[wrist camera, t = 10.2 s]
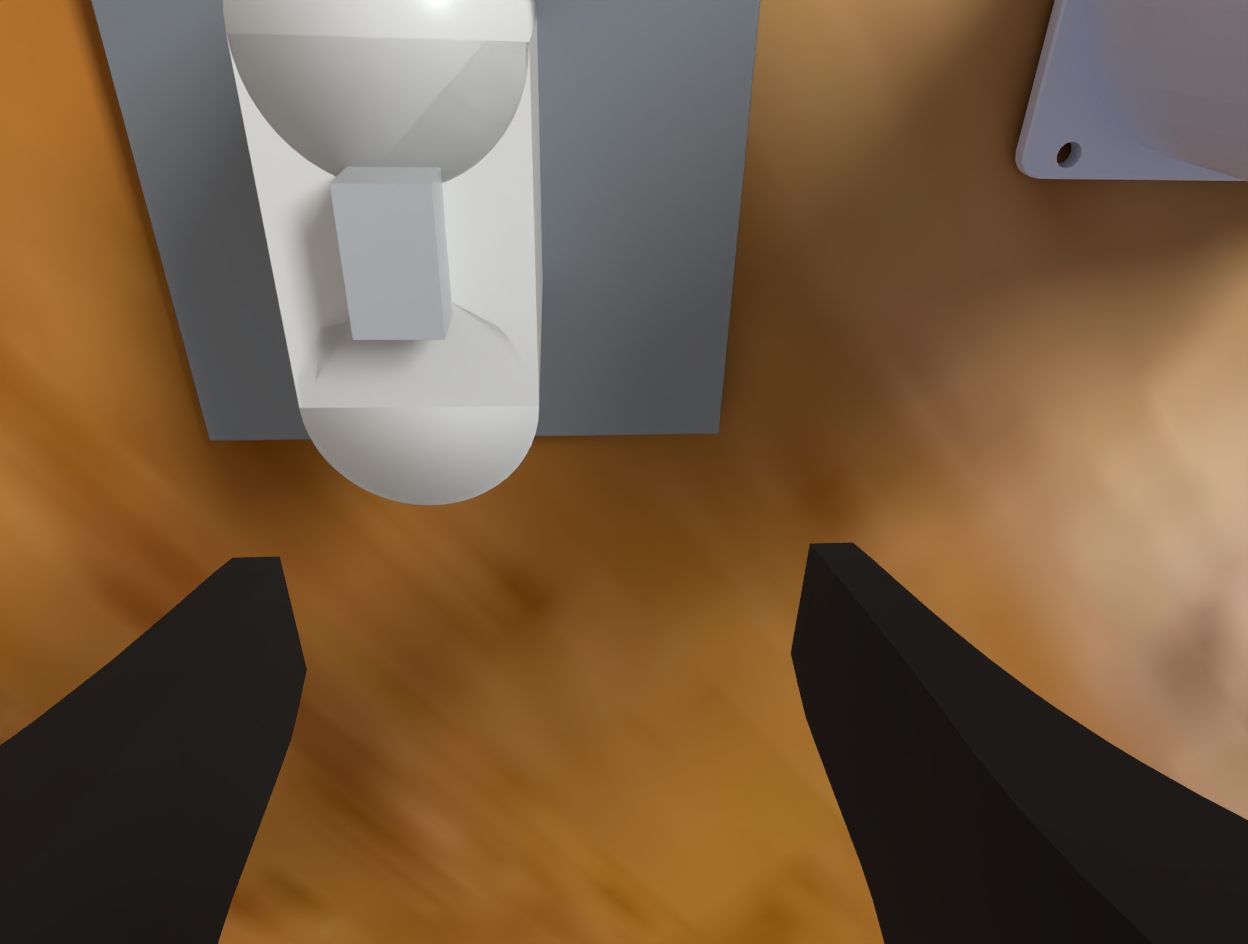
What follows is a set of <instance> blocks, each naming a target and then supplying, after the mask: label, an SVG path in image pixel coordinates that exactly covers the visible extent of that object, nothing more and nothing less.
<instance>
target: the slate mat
mask: <svg viewBox="0 0 1248 944" xmlns="http://www.w3.org/2000/svg"><path fill="white" fill-rule="evenodd" d="M91 1H92V5H93V8H94V12H95V16H96V20H97V23H98V27H99V31H100V34H101V38H102V42H103V46H104V49H105V53H106V57H107V60H108V64H109V68H110V72H111V75H112V79H113V83H114V86H115V90H116V94H117V98H118V101H119V105H120V109H121V112H122V116H123V120H124V124H125V127H126V131H127V135H128V138H129V142H130V146H131V150H132V153H133V157H134V161H135V164H136V168H137V172H138V176H139V179H140V183H141V187H142V190H143V194H144V198H145V202H146V205H147V209H148V213H149V216H150V220H151V224H152V228H153V231H154V235H155V239H156V242H157V246H158V250H159V254H160V257H161V261H162V265H163V269H164V272H165V276H166V280H167V283H168V287H169V291H170V295H171V298H172V302H173V306H174V309H175V313H176V317H177V321H178V324H179V328H180V332H181V335H182V339H183V343H184V347H185V350H186V354H187V358H188V361H189V365H190V369H191V373H192V376H193V380H194V384H195V387H196V391H197V395H198V399H199V402H200V406H201V410H202V413H203V417H204V421H205V425H206V428H207V432H208V436H209V439H210V441H223V440H295V439H311V438H310V436H309V435H308V432H307V430H306V428H305V425H304V423H303V420H302V416H301V413H300V409H299V404H298V399H297V394H296V389H295V384H294V378H293V373H292V368H291V363H290V358H289V353H288V348H287V343H286V337H285V332H284V327H283V322H282V317H281V312H280V307H279V302H278V296H277V291H276V286H275V281H274V276H273V271H272V266H271V261H270V255H269V250H268V245H267V240H266V235H265V230H264V225H263V220H262V214H261V209H260V204H259V199H258V194H257V189H256V184H255V179H254V173H253V168H252V163H251V158H250V153H249V148H248V143H247V138H246V132H245V127H244V122H243V117H242V112H241V107H240V102H239V96H238V91H237V86H236V81H235V76H234V71H233V66H232V61H231V55H230V50H229V45H228V40H227V35H226V28H225V21H224V14H223V0H91ZM535 2H536V13H537V47H538V93H539V138H540V183H541V228H542V273H543V287H542V321H541V355H540V389H539V417H538V424H537V429H536V434H535V436H584V435H656V434H719V424H720V413H721V403H722V393H723V382H724V372H725V361H726V351H727V341H728V330H729V320H730V310H731V299H732V289H733V278H734V268H735V258H736V247H737V237H738V226H739V216H740V206H741V195H742V185H743V174H744V164H745V154H746V143H747V133H748V122H749V112H750V102H751V91H752V81H753V70H754V60H755V50H756V39H757V29H758V18H759V8H760V0H535Z"/></svg>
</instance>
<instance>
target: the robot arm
mask: <svg viewBox="0 0 1248 944" xmlns="http://www.w3.org/2000/svg"><path fill="white" fill-rule="evenodd" d="M1069 142H1070V143H1071V145H1072V146H1071V153H1070V155H1069V157H1068V158H1067V159H1066V160H1065V161H1064V162H1063V163H1060V164H1058V163H1057V154H1058V152H1059V150H1060V148H1061V147H1063V146H1064V145H1065V144H1066V143H1069ZM1015 161H1016V164H1017V167H1018V169H1019V170H1020V171H1021V172H1022V173H1023V174H1025V175H1027V176H1030V177H1033V178H1037V179H1104V180H1200V181H1248V0H1055V1H1054V5H1053V9H1052V13H1051V17H1050V21H1049V25H1048V29H1047V33H1046V36H1045V40H1044V44H1043V48H1042V52H1041V56H1040V60H1039V64H1038V68H1037V71H1036V75H1035V79H1034V83H1033V87H1032V91H1031V95H1030V99H1029V103H1028V106H1027V110H1026V114H1025V118H1024V122H1023V126H1022V130H1021V134H1020V138H1019V141H1018V145H1017V149H1016V157H1015ZM791 656H792V660H793V665H794V669H795V674H796V678H797V683H798V687H799V691H800V695H801V699H802V703H803V707H804V712H805V716H806V719H807V722H808V725H809V727H810V730H811V733H812V736H813V738H814V741H815V744H816V747H817V749H818V752H819V755H820V757H821V760H822V763H823V765H824V768H825V771H826V773H827V776H828V779H829V781H830V784H831V787H832V789H833V792H834V795H835V797H836V800H837V802H838V805H839V808H840V810H841V813H842V816H843V818H844V821H845V824H846V826H847V829H848V831H849V834H850V837H851V839H852V842H853V845H854V847H855V850H856V853H857V855H858V858H859V860H860V863H861V866H862V869H863V872H864V875H865V878H866V881H867V884H868V887H869V890H870V893H871V896H872V899H873V903H874V906H875V910H876V914H877V917H878V921H879V925H880V928H881V932H882V936H883V939H884V943H885V944H1248V820H1246V819H1244V818H1243V817H1241V816H1239V815H1237V814H1235V813H1233V812H1231V811H1229V810H1227V809H1225V808H1223V807H1222V806H1220V805H1218V804H1216V803H1214V802H1212V801H1210V800H1208V799H1206V798H1204V797H1202V796H1201V795H1199V794H1197V793H1195V792H1193V791H1192V790H1190V789H1188V788H1186V787H1184V786H1183V785H1181V784H1179V783H1177V782H1176V781H1174V780H1172V779H1170V778H1169V777H1167V776H1165V775H1163V774H1162V773H1160V772H1158V771H1156V770H1155V769H1153V768H1151V767H1149V766H1147V765H1146V764H1144V763H1142V762H1140V761H1139V760H1137V759H1135V758H1134V757H1132V756H1130V755H1129V754H1127V753H1125V752H1124V751H1122V750H1120V749H1119V748H1117V747H1116V746H1114V745H1112V744H1111V743H1109V742H1107V741H1106V740H1104V739H1103V738H1101V737H1100V736H1098V735H1097V734H1095V733H1094V732H1092V731H1090V730H1089V729H1087V728H1086V727H1084V726H1083V725H1081V724H1080V723H1078V722H1077V721H1075V720H1074V719H1072V718H1071V717H1069V716H1068V715H1066V714H1065V713H1063V712H1062V711H1060V710H1058V709H1057V708H1055V707H1054V706H1053V705H1051V704H1050V703H1048V702H1047V701H1045V700H1044V699H1043V698H1041V697H1040V696H1038V695H1037V694H1035V693H1034V692H1033V691H1031V690H1030V689H1029V688H1027V687H1026V686H1025V685H1023V684H1022V683H1021V682H1019V681H1018V680H1017V679H1015V678H1014V677H1013V676H1011V675H1010V674H1009V673H1007V672H1006V671H1005V670H1003V669H1002V668H1001V667H999V666H998V665H997V664H995V663H994V662H993V661H991V660H990V659H989V658H988V657H986V656H985V655H984V654H983V653H981V652H980V651H979V650H978V649H976V648H975V647H974V646H973V645H971V644H970V643H969V642H968V641H966V640H965V639H964V638H963V637H961V636H960V635H959V634H958V633H957V632H955V631H954V630H953V629H952V628H951V627H949V626H948V625H947V624H946V623H945V622H943V621H942V620H941V619H940V618H939V617H938V616H936V615H935V614H934V613H933V612H932V611H931V610H929V609H928V608H927V607H926V606H925V605H924V604H923V603H921V602H920V601H919V600H918V599H917V598H916V597H915V596H913V595H912V594H911V593H910V592H909V591H908V590H907V589H905V588H904V587H903V586H902V585H901V584H900V583H899V582H898V581H896V580H895V579H894V578H893V577H892V576H891V575H890V574H889V573H887V572H886V571H885V570H884V569H883V568H882V567H881V566H880V565H878V564H877V563H876V562H875V561H874V560H873V559H872V558H870V557H869V556H868V555H867V554H866V553H865V552H863V551H862V550H861V549H860V548H859V547H857V546H856V545H855V544H854V543H818V544H810V547H809V552H808V558H807V564H806V570H805V575H804V581H803V587H802V592H801V598H800V604H799V609H798V615H797V621H796V627H795V632H794V638H793V644H792V649H791ZM306 670H307V669H306V665H305V661H304V656H303V652H302V648H301V644H300V640H299V636H298V631H297V627H296V623H295V619H294V615H293V610H292V606H291V602H290V598H289V594H288V590H287V585H286V581H285V577H284V573H283V569H282V564H281V560H280V557H245V558H232V559H230V560H229V561H228V562H227V563H225V564H224V565H223V566H222V567H220V568H219V569H218V570H217V571H216V572H214V573H213V574H212V575H211V576H210V577H209V578H207V579H206V580H205V581H204V582H203V583H202V584H200V585H199V586H198V587H197V588H196V589H195V590H194V591H192V592H191V593H190V594H189V595H188V596H187V597H186V598H184V599H183V600H182V601H181V602H180V603H179V604H178V605H176V606H175V607H174V608H173V609H172V610H171V611H169V612H168V613H167V614H166V615H165V616H164V617H163V618H161V619H160V620H159V621H158V622H157V623H155V624H154V625H153V626H152V627H151V628H150V629H148V630H147V631H146V632H145V633H144V634H143V635H141V636H140V637H139V638H138V639H137V640H135V641H134V642H133V643H132V644H131V645H130V646H128V647H127V648H126V649H125V650H124V651H122V652H121V653H120V654H119V655H118V656H117V657H115V658H114V659H113V660H112V661H110V662H109V663H108V664H107V665H105V666H104V667H103V668H102V669H100V670H99V671H98V672H97V673H95V674H94V675H93V676H91V677H90V678H89V679H88V680H86V681H85V682H84V683H82V684H81V685H80V686H79V687H77V688H76V689H75V690H73V691H72V692H71V693H70V694H68V695H67V696H66V697H64V698H63V699H62V700H61V701H59V702H58V703H57V704H55V705H54V706H53V707H52V708H50V709H49V710H48V711H46V712H45V713H44V714H43V715H41V716H40V717H39V718H38V719H36V720H35V721H33V722H32V723H31V724H29V725H28V726H27V727H25V728H24V729H22V730H21V731H20V732H18V733H17V734H16V735H14V736H13V737H11V738H10V739H8V740H7V741H6V742H4V743H3V744H1V745H0V944H218V942H219V938H220V935H221V932H222V929H223V926H224V923H225V919H226V916H227V913H228V910H229V907H230V904H231V901H232V898H233V896H234V893H235V890H236V887H237V885H238V882H239V879H240V877H241V874H242V871H243V869H244V866H245V863H246V861H247V858H248V855H249V853H250V850H251V847H252V845H253V842H254V839H255V836H256V834H257V831H258V828H259V826H260V823H261V820H262V818H263V815H264V812H265V810H266V807H267V804H268V802H269V799H270V796H271V794H272V791H273V788H274V785H275V783H276V780H277V777H278V774H279V772H280V769H281V766H282V763H283V761H284V758H285V755H286V752H287V749H288V746H289V744H290V741H291V737H292V733H293V729H294V725H295V721H296V717H297V712H298V708H299V703H300V699H301V694H302V689H303V685H304V680H305V675H306Z"/></svg>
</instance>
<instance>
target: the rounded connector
mask: <svg viewBox="0 0 1248 944" xmlns="http://www.w3.org/2000/svg"><path fill="white" fill-rule="evenodd" d="M223 14H224V21H225V28H226V35H227V40H228V45H229V50H230V55H231V61H232V66H233V71H234V76H235V81H236V86H237V91H238V96H239V102H240V107H241V112H242V117H243V122H244V127H245V132H246V138H247V143H248V148H249V153H250V158H251V163H252V168H253V173H254V179H255V184H256V189H257V194H258V199H259V204H260V209H261V214H262V220H263V225H264V230H265V235H266V240H267V245H268V250H269V255H270V261H271V266H272V271H273V276H274V281H275V286H276V291H277V296H278V302H279V307H280V312H281V317H282V322H283V327H284V332H285V337H286V343H287V348H288V353H289V358H290V363H291V368H292V373H293V378H294V384H295V389H296V394H297V399H298V404H299V409H300V413H301V416H302V420H303V423H304V425H305V428H306V430H307V432H308V435H309V436H310V438H311V440H312V442H313V443H314V445H315V447H316V448H317V449H318V451H319V452H320V453H321V455H322V456H323V457H324V458H325V460H326V461H327V462H328V463H329V464H330V465H331V466H332V467H333V468H334V469H335V470H336V471H338V472H339V473H340V474H341V475H343V476H344V477H345V478H346V479H348V480H349V481H351V482H352V483H354V484H356V485H357V486H359V487H360V488H362V489H364V490H366V491H368V492H371V493H373V494H375V495H378V496H380V497H383V498H386V499H389V500H393V501H397V502H401V503H407V504H414V505H444V504H451V503H456V502H461V501H464V500H467V499H471V498H474V497H476V496H478V495H481V494H483V493H485V492H487V491H489V490H490V489H492V488H494V487H495V486H497V485H498V484H500V483H501V482H502V481H504V480H505V479H506V478H507V477H509V476H510V475H511V473H512V472H513V471H514V470H515V469H516V468H517V467H518V466H519V465H520V463H521V462H522V460H523V459H524V458H525V456H526V454H527V452H528V451H529V449H530V447H531V445H532V442H533V439H534V436H535V434H536V429H537V424H538V417H539V389H540V355H541V321H542V287H543V273H542V228H541V183H540V138H539V93H538V47H537V13H536V2H535V0H223Z"/></svg>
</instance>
